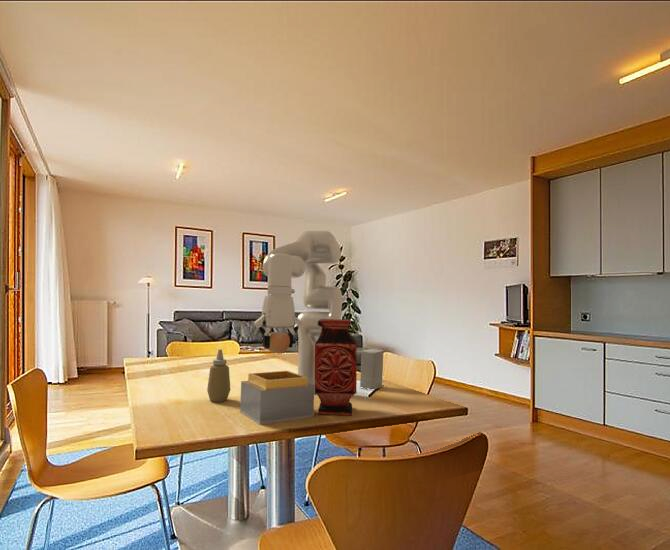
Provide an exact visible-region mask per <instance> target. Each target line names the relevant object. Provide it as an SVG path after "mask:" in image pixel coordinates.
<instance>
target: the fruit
mask: <svg viewBox="0 0 670 550" xmlns="http://www.w3.org/2000/svg"><path fill="white" fill-rule="evenodd" d="M276 330H277V331H272V332H269V334H268V336H270V342H269V349H268V350H269V352H270V353H273V354H279V355H280V354H283V353H285V352H287V350H288V349H289V348H290V347H289V344H290V338H289V336H288V335H287V334H288V333H285V332H280V331H279V329H278V328H276Z"/></svg>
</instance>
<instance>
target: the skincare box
mask: <svg viewBox="0 0 670 550" xmlns="http://www.w3.org/2000/svg"><path fill="white" fill-rule="evenodd" d="M360 358H361V359H360V361H361V362H360V378H359V379H360V380H359V381H360V382H359V384H360V385H359V388H360V387H363V388H369V389H375V390H377V389H380V388H382V387H383V374H384V373H383V372H384V371H383V370H384V350H382V349H376V348H369V349H366V350H361V356H360ZM363 388H362V389H363Z"/></svg>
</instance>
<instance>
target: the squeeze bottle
mask: <svg viewBox="0 0 670 550" xmlns="http://www.w3.org/2000/svg"><path fill="white" fill-rule="evenodd" d="M227 362H228V361H227V359H225V358H224V354H223V349H220V348H219V349H218V351H217V354H216V358H215V359H213V361H212V365H211V366H210V367H209V373H208V382H207V389H206V391H207V394H208V398H209V401H210V402H214V403H222V402H225V401H227V400H228V398H229V395H230V392H231V380H230V379H231V378H230V377H231V376H230V367H229V366H228V364H227Z"/></svg>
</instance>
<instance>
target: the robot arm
mask: <svg viewBox="0 0 670 550" xmlns="http://www.w3.org/2000/svg"><path fill="white" fill-rule="evenodd" d="M341 251H342V250H341V247H340V245H339V242H338V241H337V239H336V237H335V236H334V235H333V234H332V232H330V231H329V230H328V231H327V230H305V231H303V232H301V233H299V235H298V236H297V237H296V238H295V239H294V241H293V242H291V243H287V244H285V245H284V244H283V245H282V246H279V247H276V248H273V249H272V250H271V251H270V252H268V254H267V255H266V256H265V257H264V260H263V262H262V271H263V274H264V275H265V276H266V277H267V296H264V298H263V304H262V308H261V309H262V311H261V316H260V317H259V318H258V319H256V320H255V321H254V322H253V325H254V326H255V327H256V329H257V331H258V332H259V333H260V334H261V336H262V338H261V339H262V342H261V343H262V346H263V349H268V350H269V342H270V336H269V334H270V333H271V330H272V329H273V328H274V329H275V328H277V329H278V328H279V329H281V328H282V329H283V328H285V330H286V332H287V333H286V334H287V335H288V336H289V338H290V344H289V347H288V348H293V345H294V335H296V333H297V334H298V335H297V336H298V337H297V338H298V353H297V355H298V356H297V357H298V358H297V359H298V360H297V374H299V375H302V376H305V377H307V383H309V384H312V385H314V394H316V393H315V343H316V342H317V340H318V338H319V337H317V336H320V334H321V329H322V327H321V326H319V325H318V321H319V320H320V319H340V320H342V308H343V294H342V291H341V289H340V288H339V287H338V286H333V285H331V286H330V285H329V286H328V285H326V284H327V283H326V281H327V275H326V273H325V271H324V269H323V268H322V267H321V266H320V265H319V264H337V263H338V262H339V261H340V259H341V257H342V256H341V255H342V254H341ZM304 273H305V280H304V281H305V282H304V290H303V298H302V299H303V301H302V302H303V305H304V307H305V308H307V309H310V310H327V311H309V310H307V311H303V312H301V313H299V314H298V316H296V312H295V303H294V297H293V296H292V294H295V293H296V292H295V291H296V290H295V289H294V288H293V287H292V279H297V278H301V277H302V276H303V275H304Z"/></svg>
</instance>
